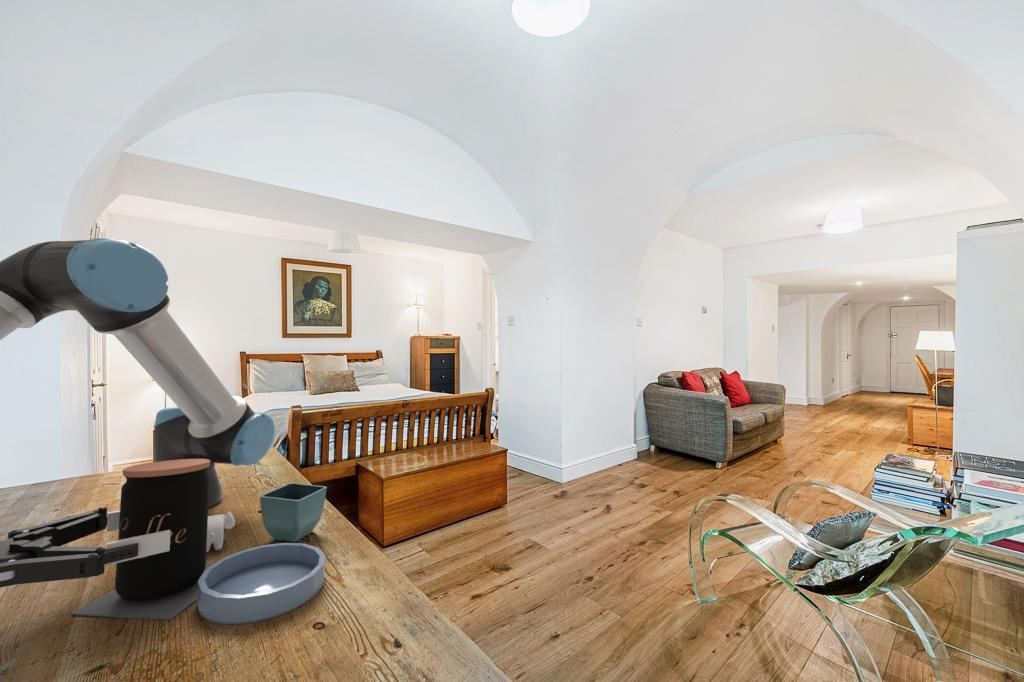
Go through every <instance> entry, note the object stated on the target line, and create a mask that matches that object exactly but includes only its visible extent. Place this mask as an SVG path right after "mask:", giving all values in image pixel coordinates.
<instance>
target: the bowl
mask: <svg viewBox="0 0 1024 682" xmlns="http://www.w3.org/2000/svg"><path fill="white" fill-rule="evenodd" d="M325 563H326V554H325V553H324V552H323V551H322V550H321V549H320V548H319V547H317V546H315V545H310V544H307V543H301V542H299V543H298V542H280V543H270V544H263V545H260V546H256V547H252V548H247V549H245V550H244V549H243V550H239V551H238V552H236V553H233V554H231V555H228V556H226V557H223V558H221V559H219V560H218V561H216V562H215V563H213V564H211V565H209V566H210V567H209V568H207V569H206V570H205V571H204V573H203V574H202V576H201V577H200V579H199V580H198V587H197V601H196V602H197V610H198V613H199V615H200V616H201V618H203V619H205V620H206V621H208V622H212V623H214V624H215V623H216V624H220V625H242V624H243V625H244V624H245V625H247V624H252V623H257V622H258V623H259V622H262V621H265V620H266V621H267V620H269V619H273V618H277V617H279V616H282V615H285V614H287V613H290V612H291V611H294V610H296V609H298V608H299V607H301V606H303V605H305V604H306V603H307V602H309V601H310V600H312V599H313V598H314V597H315V596H316V595H317V594H318V593H319V592H320V590H321V588H323V585H324V579H325V565H326V564H325ZM311 598H312V599H311Z"/></svg>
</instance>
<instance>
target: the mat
mask: <svg viewBox="0 0 1024 682" xmlns="http://www.w3.org/2000/svg"><path fill="white" fill-rule="evenodd" d="M210 566H211V565H206V567H205V570H206V569H207V568H209V567H210ZM197 587H198V581H197V582H196V583H195V584H193V585H192V586H190V587H188V588H186V589H184V590H181V591H179V592H176V593H173V594H170V595H167V596H164V597H159V598H155V599H150V600H142V601H127V600H123V599H122V598H121V596H119V595H118V594H117V592H116V590H115V588H113V589H112V590H110V591H108V592H107V593H105V594H104V595H101V596H99V597H97V598H96V599H95V600H92V601H91V602H89V603H87V604H86V605H84V606H82V607H80V608H79V609H76V610H75V611H74V612H71V616H82V617H83V616H84V617H101V618H104V617H105V618H122V619H123V618H124V619H125V618H126V619H145V620H163V621H169V620H170V621H171V620H173V619H174V618H177V616H178V615H180V614H181V613H183V612H184V611H185V610H186V609H188V608H189V607H190V606H192V605H193V604H194V603H196V602H197Z"/></svg>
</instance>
